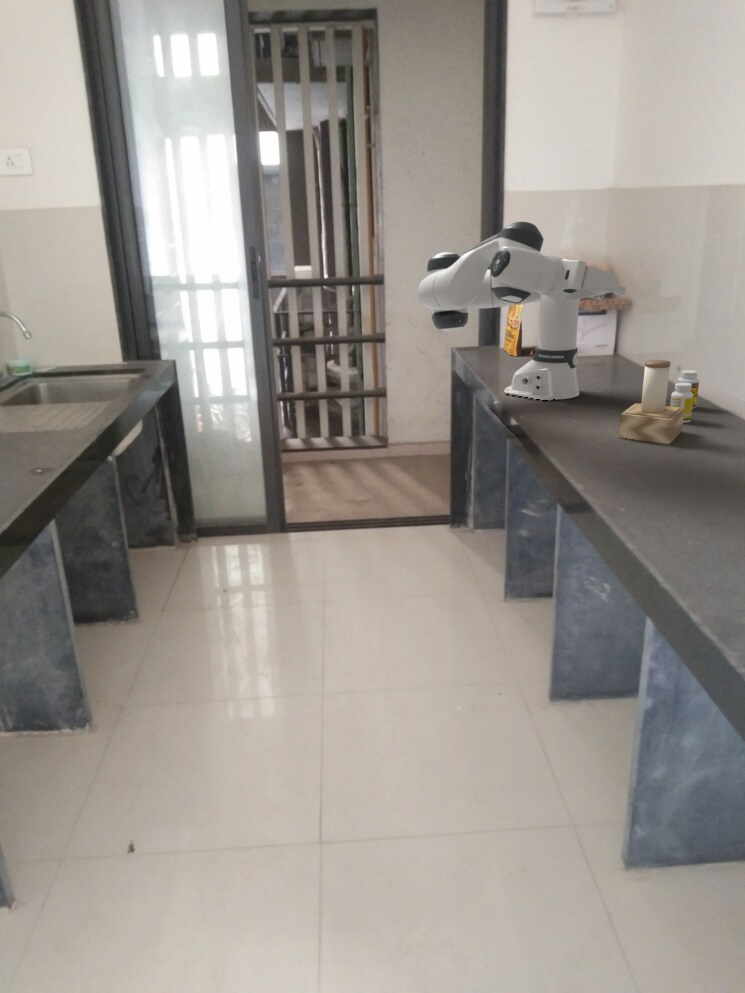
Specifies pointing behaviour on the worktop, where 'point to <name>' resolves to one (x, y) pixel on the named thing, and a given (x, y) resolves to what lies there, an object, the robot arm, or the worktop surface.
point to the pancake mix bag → (514, 330)
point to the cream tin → (655, 386)
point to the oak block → (651, 424)
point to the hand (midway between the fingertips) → (613, 294)
